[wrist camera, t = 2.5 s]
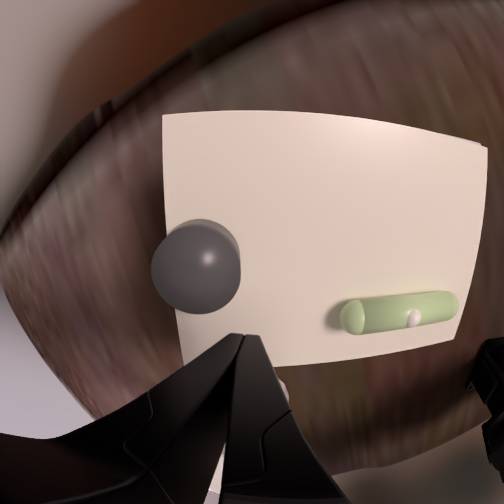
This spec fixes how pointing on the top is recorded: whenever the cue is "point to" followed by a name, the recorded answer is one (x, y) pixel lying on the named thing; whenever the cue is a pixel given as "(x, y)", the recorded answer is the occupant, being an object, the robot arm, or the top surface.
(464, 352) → the top surface
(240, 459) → the robot arm
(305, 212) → the instrument plate
